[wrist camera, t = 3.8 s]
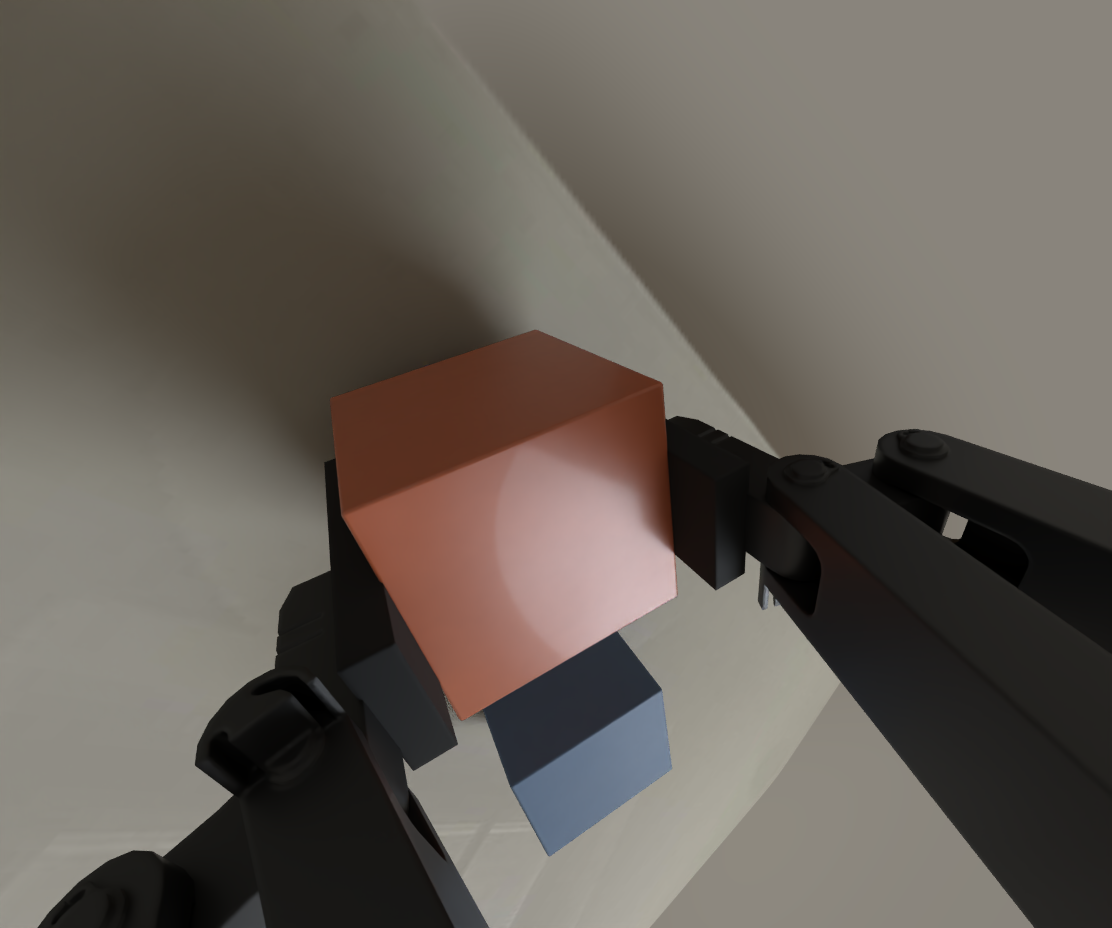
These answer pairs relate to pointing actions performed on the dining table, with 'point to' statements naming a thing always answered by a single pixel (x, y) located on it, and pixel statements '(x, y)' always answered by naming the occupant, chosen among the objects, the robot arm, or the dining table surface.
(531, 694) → the steel blue cube
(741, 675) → the dining table surface
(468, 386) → the rust orange cube
